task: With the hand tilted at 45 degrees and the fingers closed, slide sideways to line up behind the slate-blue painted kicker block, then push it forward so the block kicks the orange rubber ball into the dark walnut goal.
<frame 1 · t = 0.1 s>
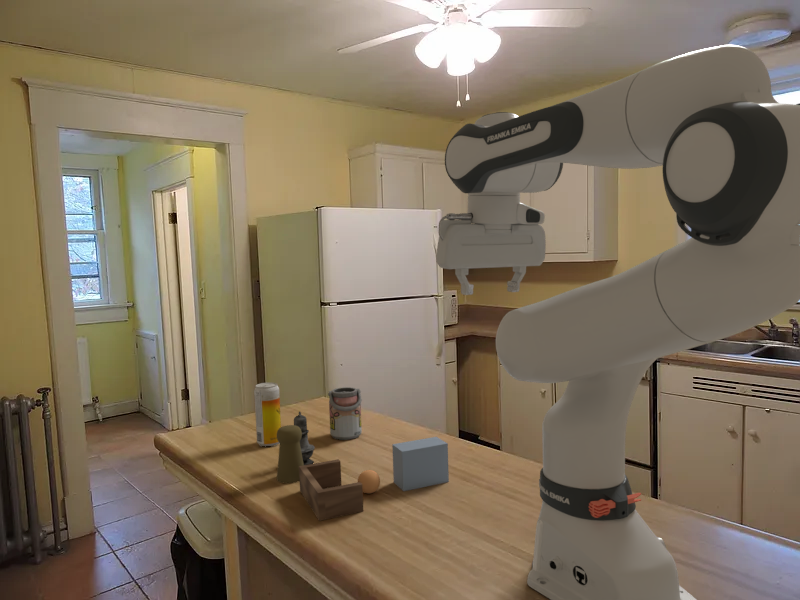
hand: (490, 293, 100), 39 cm above the counter, tool pointing down, fingers open, 8 cm apart
goal: (333, 499, 108), on the counter
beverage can: (346, 437, 147), on the counter
olive pawn: (291, 478, 120), on the counter
grey chess bishop: (302, 464, 128), on the counter
ball: (369, 492, 111), on the counter
kicker: (421, 482, 115), on the counter
beer can: (269, 444, 143), on the counter
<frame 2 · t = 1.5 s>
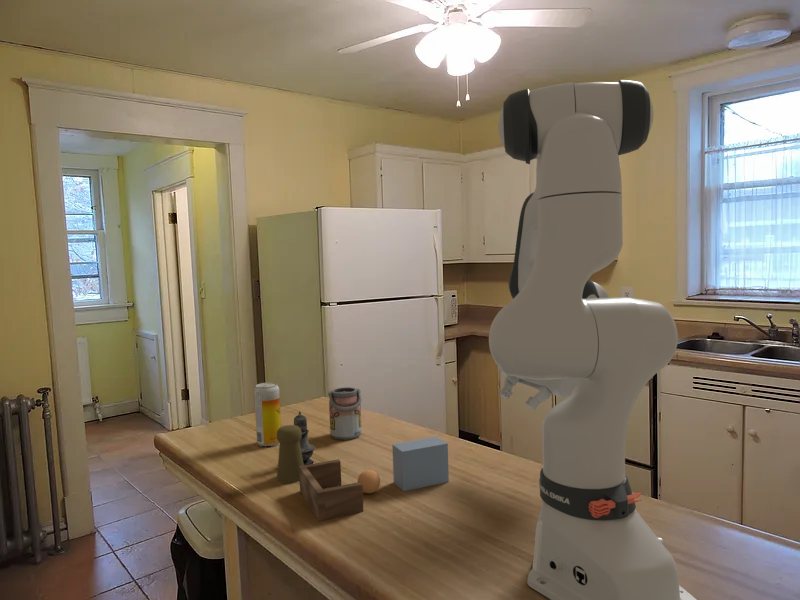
hand: (516, 401, 115), 16 cm above the counter, tool tilted 45°, fingers open, 8 cm apart
nothing on the counter moved.
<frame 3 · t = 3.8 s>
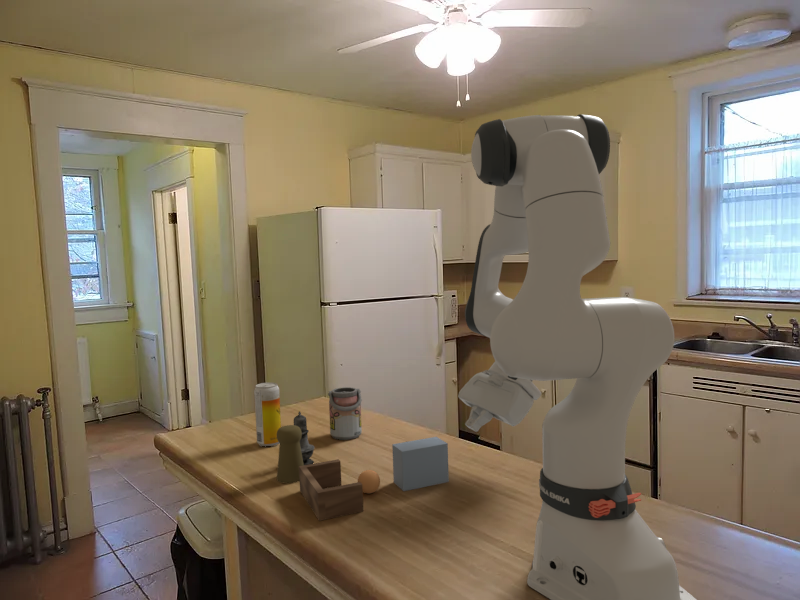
hand: (470, 428, 120), 9 cm above the counter, tool tilted 45°, fingers closed
nothing on the counter moved.
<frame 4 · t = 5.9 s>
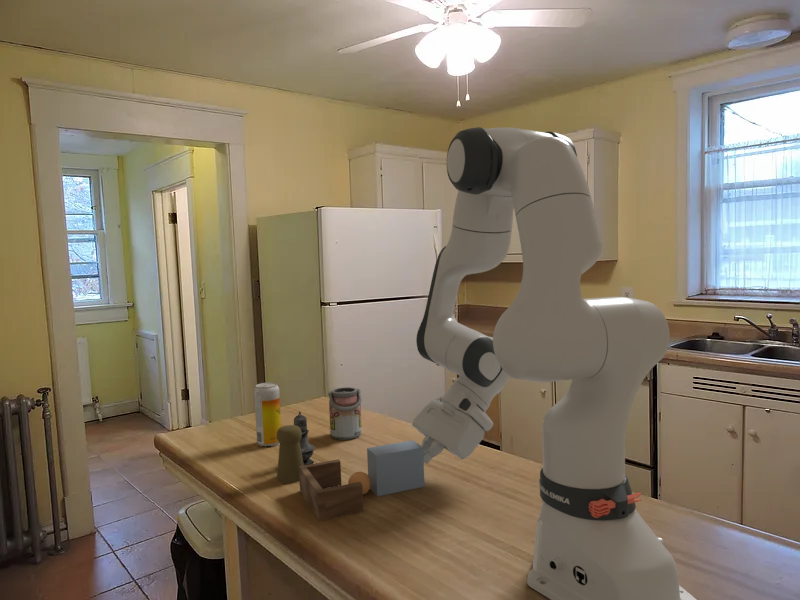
hand: (421, 459, 115), 5 cm above the counter, tool tilted 45°, fingers closed, pressing on kicker
ball: (367, 489, 111), point 1 cm above the counter, tilted 48°
kicker: (396, 486, 113), on the counter, touching gripper
everything else where it was.
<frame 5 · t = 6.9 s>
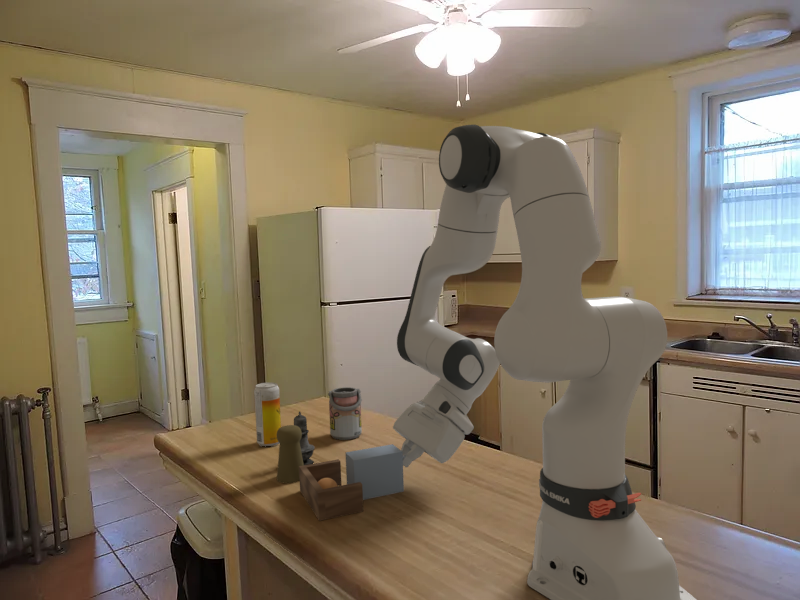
hand: (400, 463, 113), 5 cm above the counter, tool tilted 45°, fingers closed, pressing on kicker
ball: (318, 483, 107), point 4 cm above the counter, tilted 138°
kicker: (375, 491, 112), on the counter, touching gripper
everything else where it was.
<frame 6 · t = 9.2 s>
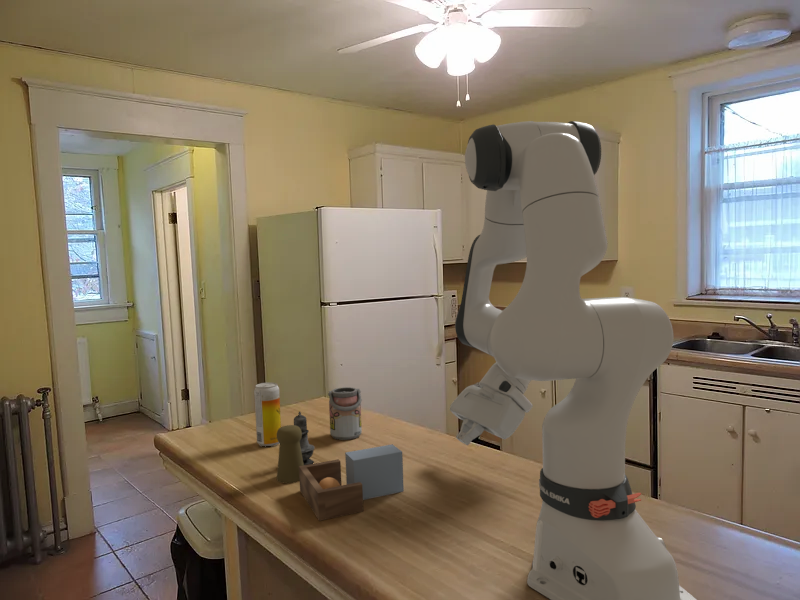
hand: (461, 441, 118), 7 cm above the counter, tool tilted 45°, fingers closed
ball: (322, 480, 107), point 4 cm above the counter, tilted 150°
kicker: (375, 491, 112), on the counter
everything else where it was.
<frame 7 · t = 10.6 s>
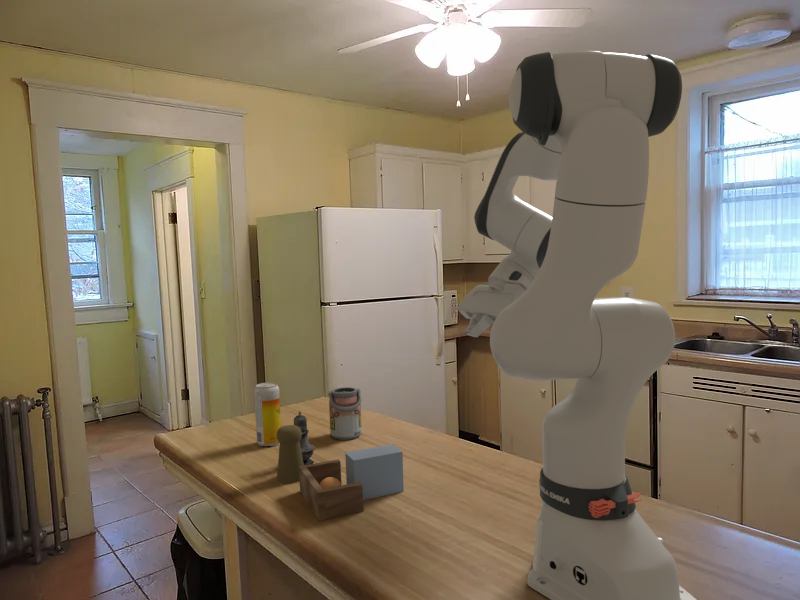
hand: (470, 334, 116), 29 cm above the counter, tool tilted 45°, fingers closed
ball: (325, 479, 107), point 4 cm above the counter, tilted 157°
everything else where it was.
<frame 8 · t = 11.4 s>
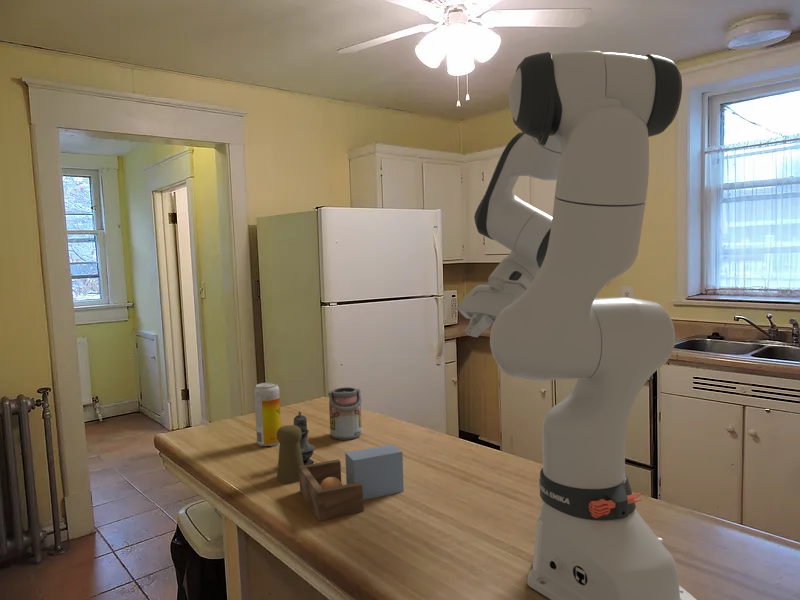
hand: (470, 334, 116), 29 cm above the counter, tool tilted 45°, fingers closed
nothing on the counter moved.
at the end: ball inside the target area on the goal (0.7 cm from its centre), point 4.3 cm above the goal's base; kicker inside the target area (1.7 cm from its centre), on the counter; kicker tilted 0° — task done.
